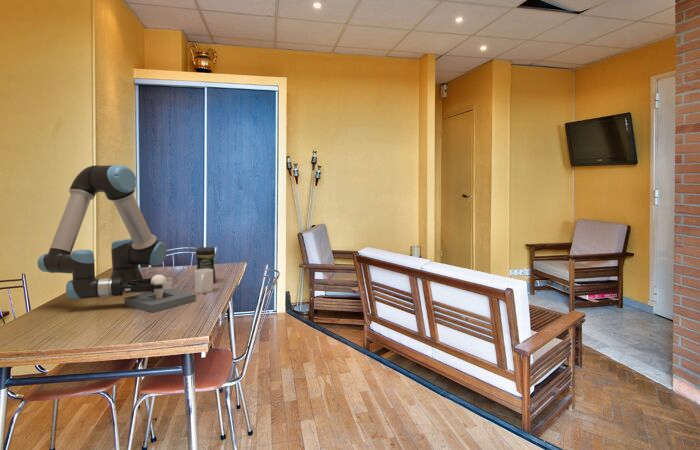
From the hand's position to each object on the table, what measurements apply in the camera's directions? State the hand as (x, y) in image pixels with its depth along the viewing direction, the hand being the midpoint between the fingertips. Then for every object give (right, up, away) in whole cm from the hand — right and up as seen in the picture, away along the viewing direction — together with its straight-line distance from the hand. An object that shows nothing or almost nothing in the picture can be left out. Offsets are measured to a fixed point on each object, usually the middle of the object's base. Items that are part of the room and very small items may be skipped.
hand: (172, 283), depth 174 cm
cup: (+7, -7, +18) cm, 20 cm away
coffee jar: (+2, -5, +37) cm, 37 cm away
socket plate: (-4, -8, -1) cm, 10 cm away
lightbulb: (-4, -7, -3) cm, 9 cm away
